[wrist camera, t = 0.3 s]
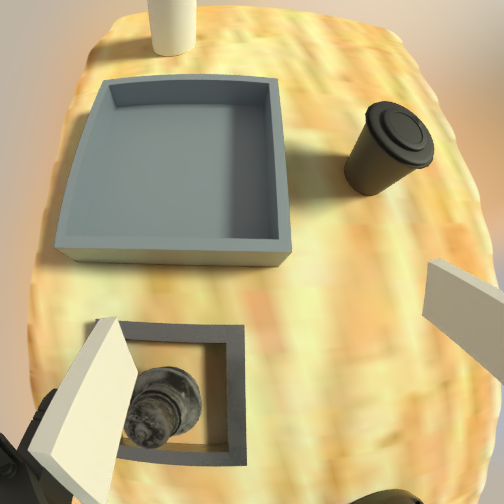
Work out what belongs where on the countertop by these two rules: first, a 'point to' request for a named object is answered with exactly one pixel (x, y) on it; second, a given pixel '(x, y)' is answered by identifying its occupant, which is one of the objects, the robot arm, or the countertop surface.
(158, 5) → the white plastic bottle
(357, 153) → the coffee cup
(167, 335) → the collar
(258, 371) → the countertop surface
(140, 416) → the dark grey tall piece
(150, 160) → the bin
